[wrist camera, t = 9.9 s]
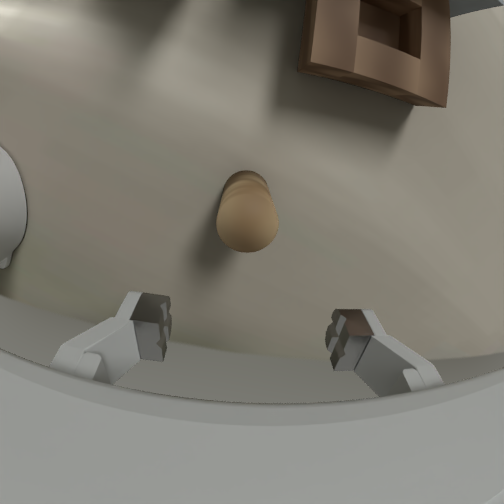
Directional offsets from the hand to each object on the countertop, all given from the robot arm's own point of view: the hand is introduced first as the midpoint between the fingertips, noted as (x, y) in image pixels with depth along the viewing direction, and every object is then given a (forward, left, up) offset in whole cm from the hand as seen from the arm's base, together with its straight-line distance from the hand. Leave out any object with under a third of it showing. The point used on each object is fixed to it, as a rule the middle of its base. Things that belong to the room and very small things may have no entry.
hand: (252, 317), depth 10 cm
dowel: (0, 0, -17) cm, 17 cm away
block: (+9, +18, -17) cm, 26 cm away
